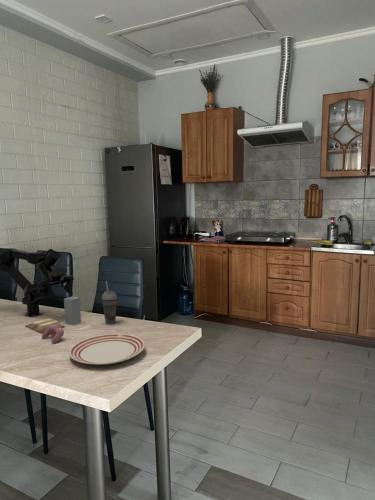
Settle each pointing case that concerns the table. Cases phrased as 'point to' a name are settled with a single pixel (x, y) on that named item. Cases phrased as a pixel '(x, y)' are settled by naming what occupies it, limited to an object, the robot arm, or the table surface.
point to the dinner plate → (107, 349)
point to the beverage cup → (109, 305)
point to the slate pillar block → (72, 310)
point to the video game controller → (53, 333)
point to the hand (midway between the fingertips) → (64, 297)
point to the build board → (43, 325)
